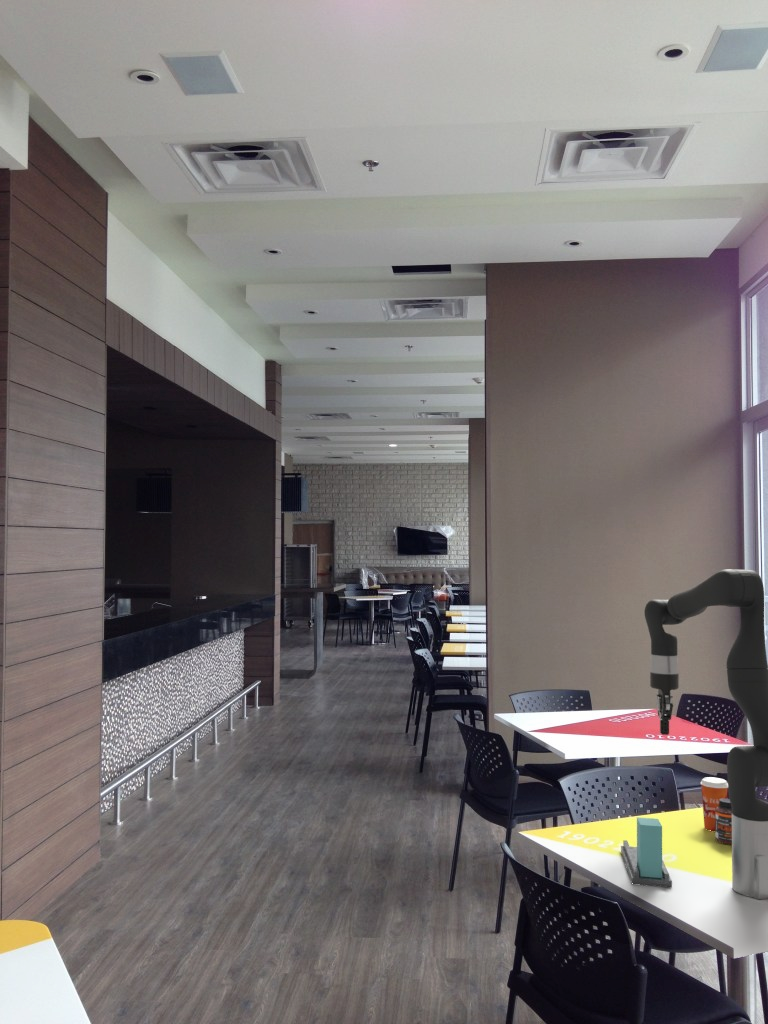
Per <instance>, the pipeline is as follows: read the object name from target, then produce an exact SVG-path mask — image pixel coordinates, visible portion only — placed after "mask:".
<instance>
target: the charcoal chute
mask: <svg viewBox="0 0 768 1024" xmlns="http://www.w3.org/2000/svg"><path fill="white" fill-rule="evenodd" d="M622 843H623V844H622V845H620V853H621V856H622V859H623V862H624V864H626V865H625V868H626V867H627V868H626V870H628V871H627V874H628V876H629V879H630V882H631V881H632V882H631V884H632V883H633V884H632V885H634V884H640V885H639V886H646V885H647V886H648V887H649V886H650V887H660V888H670V889H671V888H673V880H672V878H671V875H670V873H669V871H668V869H667V867H666V865H665V863H664V860H663V859H662V878H653V877H641V876H640V874H639V870H638V867H637V846H630V844H629V841H628V840H626V839H624V840H622Z"/></svg>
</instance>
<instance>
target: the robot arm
mask: <svg viewBox="0 0 768 1024" xmlns="http://www.w3.org/2000/svg"><path fill="white" fill-rule="evenodd" d="M764 587H765V586H764V584H763V579H762V577H761V575H760V574H759V572H757V571H755V570H754V569H753V570H752V569H735V568H734V569H733V568H732V569H731V568H729V569H722V570H719V571H717V572H716V573H714V574H712V575H711V576H710V577H708V578H707V579H705V580H703V581H702V582H701V583H699V584H697V585H696V586H695V587H692V588H689V589H687V590H684V591H681V592H679V593H675V594H674V595H671V597H670V598H669V599H651V600H649V601H648V602H647V603H646V605H645V607H644V613H643V614H644V619H645V623H646V626H647V630H648V633H649V637H650V647H651V648H650V652H651V653H650V662H649V663H650V665H649V670H650V671H649V673H650V674H649V678H650V679H649V680H650V681H649V682H650V683H649V684H650V685H649V686H650V687H651V688H652V689H655V690H658V691H657V692H658V693H657V694H655V700H656V707H657V708H656V710H657V715H658V719H659V733H660V734H661V735H664V736H665V735H666V736H668V735H669V734H670V721H671V720H672V716H673V715H672V714H673V710H674V709H673V707H674V704H673V702H674V697H673V696H672V695H671V691H672V690H673V691H675V690H676V691H677V690H678V689H679V679H680V678H679V672H680V671H679V659H678V658H679V657H678V637H677V636H676V635H675V634H673V633H670V632H666V631H665V629H664V625H665V626H667V625H669V626H671V625H672V626H674V625H675V626H676V625H680V624H682V623H683V622H685V621H686V620H688V619H690V618H693V617H696V616H699V615H701V614H702V613H704V612H705V611H706V610H707V608H708V607H716V606H717V607H718V606H721V607H729V608H733V607H735V608H739V611H740V626H739V630H738V633H737V636H736V638H735V640H734V642H733V644H732V647H731V649H730V651H729V653H728V654H727V655H728V656H727V657H726V674H727V675H726V676H727V686H728V690H729V692H730V695H731V696H732V698H733V699H734V701H735V703H736V704H737V706H738V707H739V709H740V710H741V711H742V713H743V714H744V716H745V717H746V720H747V721H748V724H749V726H750V730H751V735H752V741H753V744H752V745H740V746H734V747H731V749H730V751H729V752H728V755H727V759H726V771H727V772H726V774H727V783H728V790H727V792H728V799H730V803H731V807H732V845H731V870H732V871H731V873H732V877H731V879H732V880H731V881H732V883H731V885H732V886H731V887H732V890H733V891H735V892H737V893H739V894H740V895H743V896H746V897H750V898H755V899H757V900H764V899H768V801H765V800H762V799H760V798H758V797H757V792H756V791H757V789H756V787H768V657H767V647H766V636H765V634H766V633H765V591H764V590H765V589H764Z"/></svg>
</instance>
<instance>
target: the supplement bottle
mask: <svg viewBox="0 0 768 1024" xmlns="http://www.w3.org/2000/svg"><path fill="white" fill-rule="evenodd" d="M714 833H715V834H714V838H715V840H716V842H717V843H720V844H722V843H723V845H726V844H730V845H729V846H732V807H731V803H730V799H729V798H727V799H719V806H718V807H716V810H715V832H714Z"/></svg>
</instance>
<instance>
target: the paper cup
mask: <svg viewBox="0 0 768 1024" xmlns="http://www.w3.org/2000/svg"><path fill="white" fill-rule="evenodd" d="M700 785H701V797H702V798H701V799H702V810H703V825H704V830H706V829H707V830H706V831H708V830H711V831H710V832H712V831H715V810H716V807H718V806H719V799H728V780H725V779H724V778H719V777H712V776H709V777H708V776H707V777H704V778H702V779H701V781H700Z"/></svg>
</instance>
